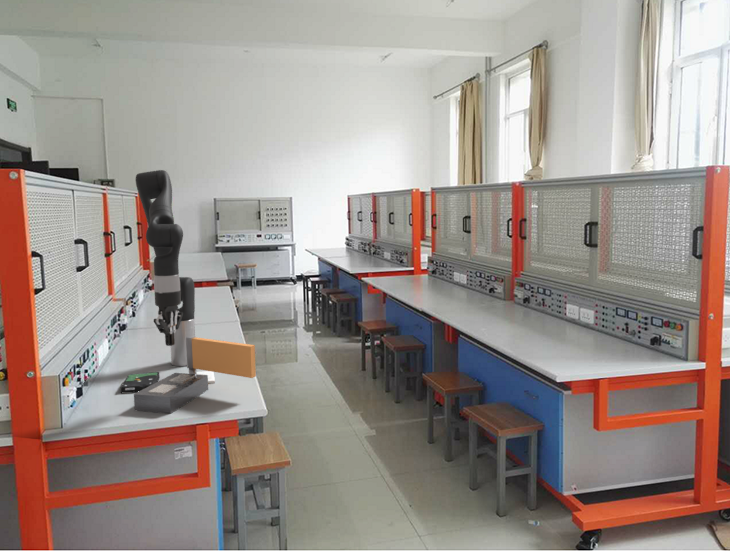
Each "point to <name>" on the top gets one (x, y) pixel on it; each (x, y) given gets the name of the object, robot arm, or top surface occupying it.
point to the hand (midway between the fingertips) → (170, 345)
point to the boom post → (192, 371)
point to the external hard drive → (210, 375)
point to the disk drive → (139, 381)
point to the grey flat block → (170, 393)
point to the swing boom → (221, 356)
